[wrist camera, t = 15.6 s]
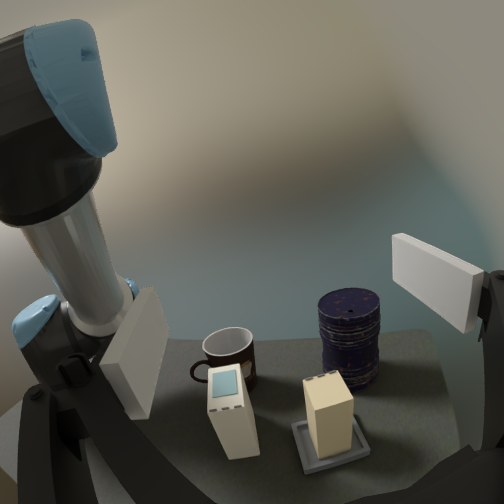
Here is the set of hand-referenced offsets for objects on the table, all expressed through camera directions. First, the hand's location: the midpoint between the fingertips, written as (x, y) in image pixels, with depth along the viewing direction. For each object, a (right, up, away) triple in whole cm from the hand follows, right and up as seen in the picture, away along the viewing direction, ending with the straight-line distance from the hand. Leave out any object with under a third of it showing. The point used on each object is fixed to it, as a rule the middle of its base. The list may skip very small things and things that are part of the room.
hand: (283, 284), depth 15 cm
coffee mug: (-5, -23, +36) cm, 43 cm away
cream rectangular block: (+9, -24, +19) cm, 32 cm away
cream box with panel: (-3, -26, +24) cm, 35 cm away
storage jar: (+16, -20, +32) cm, 41 cm away
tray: (+9, -25, +19) cm, 33 cm away
